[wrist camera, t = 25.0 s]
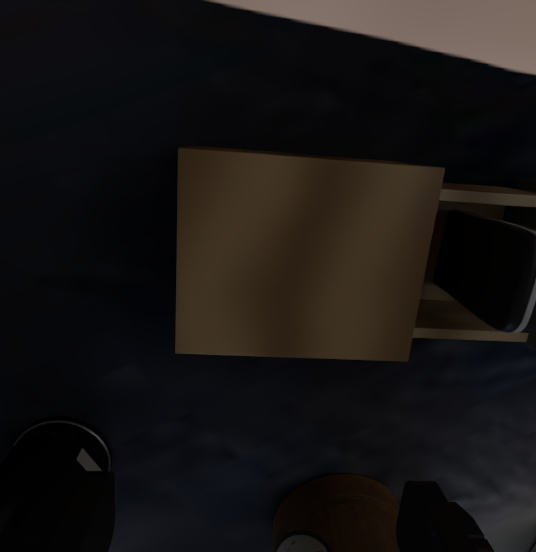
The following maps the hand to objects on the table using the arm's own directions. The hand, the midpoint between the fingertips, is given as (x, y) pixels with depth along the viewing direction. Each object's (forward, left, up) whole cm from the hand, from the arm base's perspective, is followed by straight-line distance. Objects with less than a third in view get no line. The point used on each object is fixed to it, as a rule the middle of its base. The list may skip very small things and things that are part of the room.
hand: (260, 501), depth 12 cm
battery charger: (+2, -18, -26) cm, 32 cm away
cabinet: (+2, -4, -28) cm, 28 cm away
